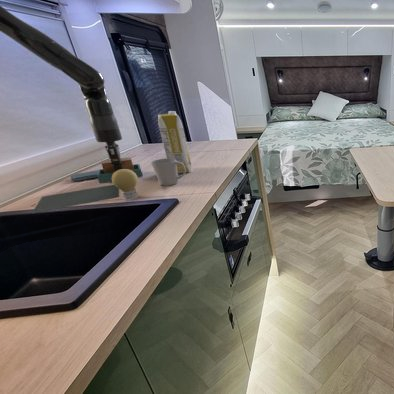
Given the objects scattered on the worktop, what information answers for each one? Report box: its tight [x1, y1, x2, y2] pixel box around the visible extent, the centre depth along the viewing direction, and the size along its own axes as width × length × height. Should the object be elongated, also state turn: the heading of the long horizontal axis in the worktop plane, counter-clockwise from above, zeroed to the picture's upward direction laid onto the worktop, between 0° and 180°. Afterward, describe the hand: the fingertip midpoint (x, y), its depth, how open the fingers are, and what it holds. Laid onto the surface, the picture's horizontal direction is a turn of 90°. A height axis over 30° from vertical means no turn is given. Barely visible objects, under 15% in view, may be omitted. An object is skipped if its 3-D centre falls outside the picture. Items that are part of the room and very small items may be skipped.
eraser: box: [101, 156, 134, 174], centre depth 111 cm, size 9×5×5 cm, turn 127°
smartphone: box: [70, 169, 99, 183], centre depth 115 cm, size 8×2×15 cm
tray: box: [96, 163, 143, 184], centre depth 112 cm, size 13×9×4 cm
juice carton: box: [157, 110, 192, 175], centre depth 116 cm, size 9×8×24 cm
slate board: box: [31, 184, 120, 214], centre depth 93 cm, size 20×16×1 cm
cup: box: [151, 157, 187, 187], centre depth 105 cm, size 8×10×8 cm
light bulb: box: [111, 169, 139, 201], centre depth 90 cm, size 6×6×10 cm
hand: (120, 172), depth 112 cm, fingers closed on eraser, 5 cm apart
